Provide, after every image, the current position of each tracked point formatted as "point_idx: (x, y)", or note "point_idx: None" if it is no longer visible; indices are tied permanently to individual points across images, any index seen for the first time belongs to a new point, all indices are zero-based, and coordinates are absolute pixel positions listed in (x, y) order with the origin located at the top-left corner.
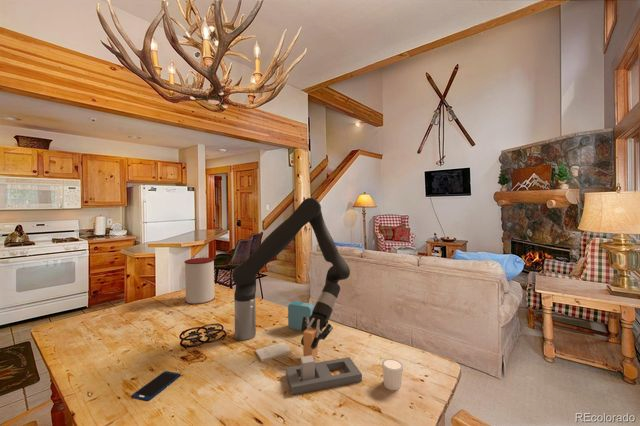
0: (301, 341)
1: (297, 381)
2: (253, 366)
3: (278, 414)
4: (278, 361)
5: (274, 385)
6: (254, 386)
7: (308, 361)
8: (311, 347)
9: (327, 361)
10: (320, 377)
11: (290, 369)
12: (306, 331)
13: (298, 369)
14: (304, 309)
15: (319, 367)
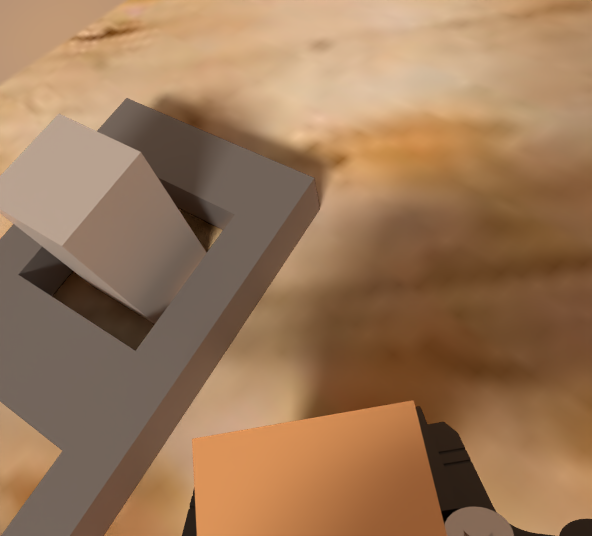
0: (441, 429)
1: (131, 146)
2: (583, 106)
3: (115, 35)
4: (522, 266)
5: (288, 108)
6: (368, 36)
7: (33, 159)
8: None
9: (75, 505)
10: (17, 278)
11: (268, 186)
12: (355, 441)
13: (222, 232)
14: None
15: (91, 368)
